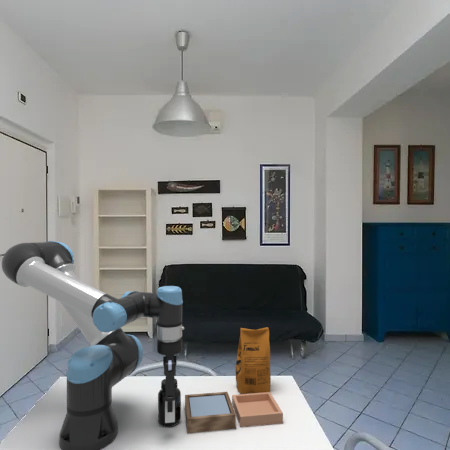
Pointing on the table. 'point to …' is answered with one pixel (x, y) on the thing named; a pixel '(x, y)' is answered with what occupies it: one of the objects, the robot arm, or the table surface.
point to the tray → (256, 409)
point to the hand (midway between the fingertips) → (169, 409)
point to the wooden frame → (210, 416)
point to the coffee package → (253, 361)
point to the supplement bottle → (162, 404)
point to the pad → (208, 405)
